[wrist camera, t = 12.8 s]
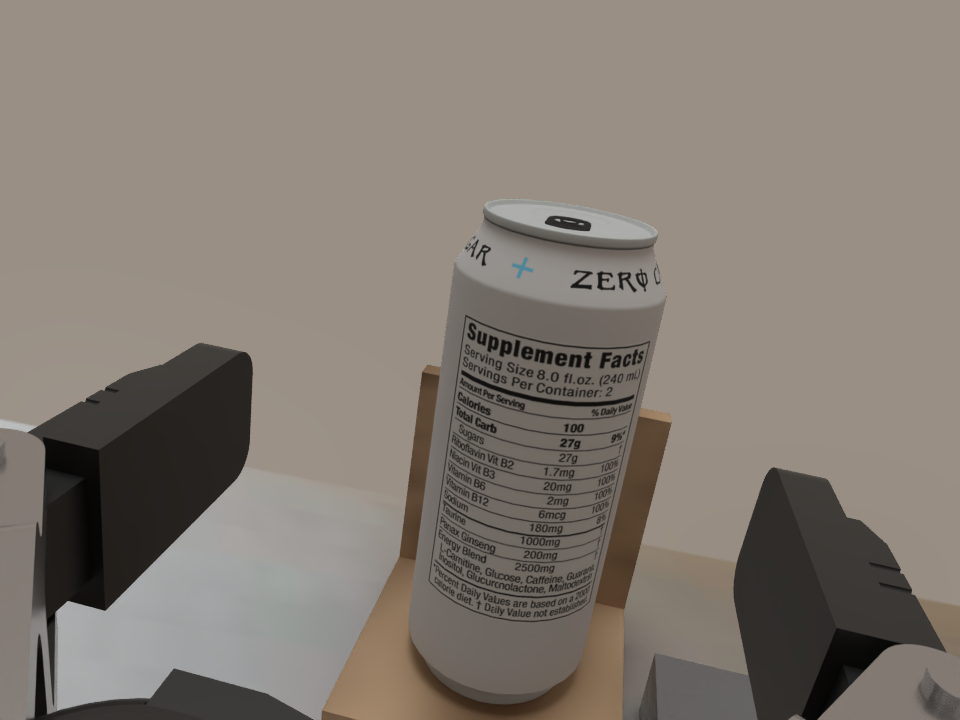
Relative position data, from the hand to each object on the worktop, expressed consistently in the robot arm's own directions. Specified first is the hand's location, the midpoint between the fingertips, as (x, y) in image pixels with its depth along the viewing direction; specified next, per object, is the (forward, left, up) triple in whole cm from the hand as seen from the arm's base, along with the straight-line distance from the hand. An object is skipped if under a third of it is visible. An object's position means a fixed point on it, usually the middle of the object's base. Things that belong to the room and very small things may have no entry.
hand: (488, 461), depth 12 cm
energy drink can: (0, +11, -13) cm, 17 cm away
